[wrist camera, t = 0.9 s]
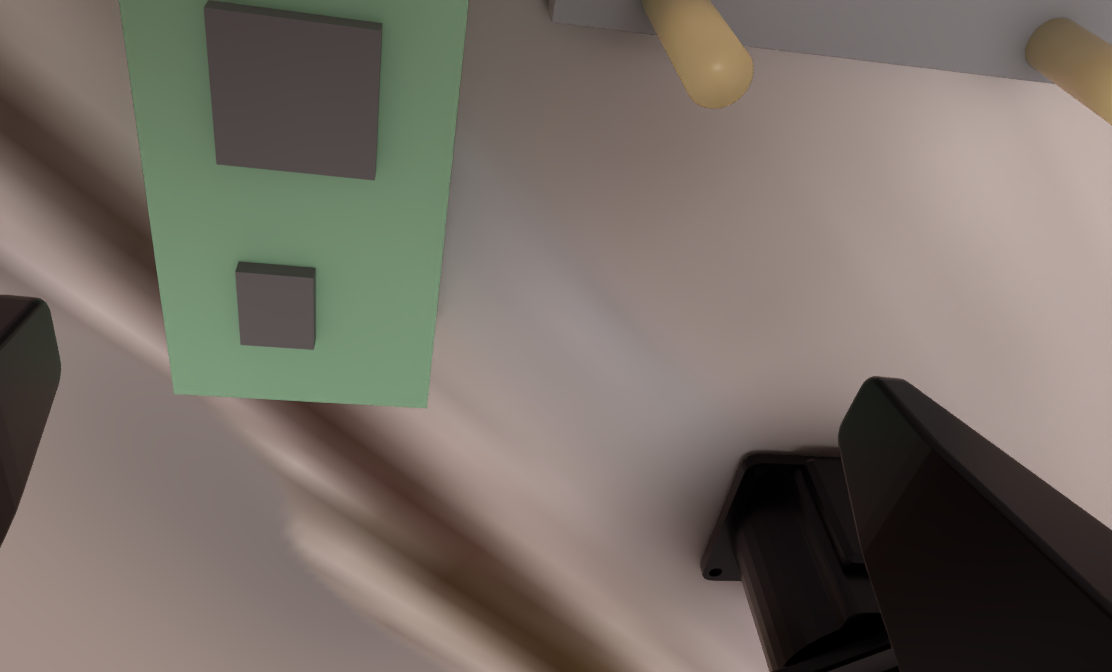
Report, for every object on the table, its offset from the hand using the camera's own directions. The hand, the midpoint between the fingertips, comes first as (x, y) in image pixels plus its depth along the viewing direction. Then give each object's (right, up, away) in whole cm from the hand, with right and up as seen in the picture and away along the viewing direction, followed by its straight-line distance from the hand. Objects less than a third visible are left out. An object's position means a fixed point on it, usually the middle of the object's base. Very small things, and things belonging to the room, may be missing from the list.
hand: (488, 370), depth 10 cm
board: (-5, +6, +11) cm, 13 cm away
